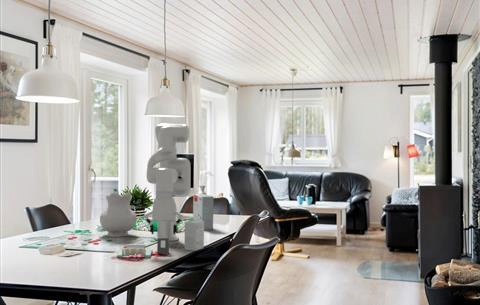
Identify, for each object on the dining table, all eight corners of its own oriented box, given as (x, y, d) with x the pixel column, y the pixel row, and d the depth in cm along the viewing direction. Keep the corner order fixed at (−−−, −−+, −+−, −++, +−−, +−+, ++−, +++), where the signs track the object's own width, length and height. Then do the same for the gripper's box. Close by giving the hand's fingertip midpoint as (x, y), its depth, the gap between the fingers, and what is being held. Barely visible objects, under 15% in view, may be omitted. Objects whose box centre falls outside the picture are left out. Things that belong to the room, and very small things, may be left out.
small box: (192, 246, 247) (193, 219, 247) (204, 248, 244) (204, 220, 244) (183, 249, 240) (184, 221, 240) (195, 250, 237) (196, 222, 237)
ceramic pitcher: (93, 235, 281) (91, 190, 280) (126, 230, 293) (124, 186, 291) (109, 241, 264) (106, 193, 262) (143, 235, 275) (141, 189, 274)
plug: (157, 252, 232) (158, 236, 232) (168, 252, 233) (169, 236, 233) (157, 254, 228) (157, 238, 228) (168, 254, 228) (168, 238, 228)
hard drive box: (192, 226, 314) (193, 194, 314) (204, 226, 317) (204, 194, 317) (201, 230, 300) (202, 196, 300) (213, 229, 303) (214, 196, 303)
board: (121, 251, 232) (121, 243, 232) (152, 251, 233) (152, 243, 233) (116, 258, 218) (116, 249, 218) (150, 257, 219) (150, 249, 219)
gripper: (183, 195, 235) (182, 232, 235) (145, 195, 233) (144, 232, 233) (183, 196, 228) (182, 235, 227) (144, 196, 226) (143, 235, 225)
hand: (163, 233), depth 230 cm, fingers open, 9 cm apart
